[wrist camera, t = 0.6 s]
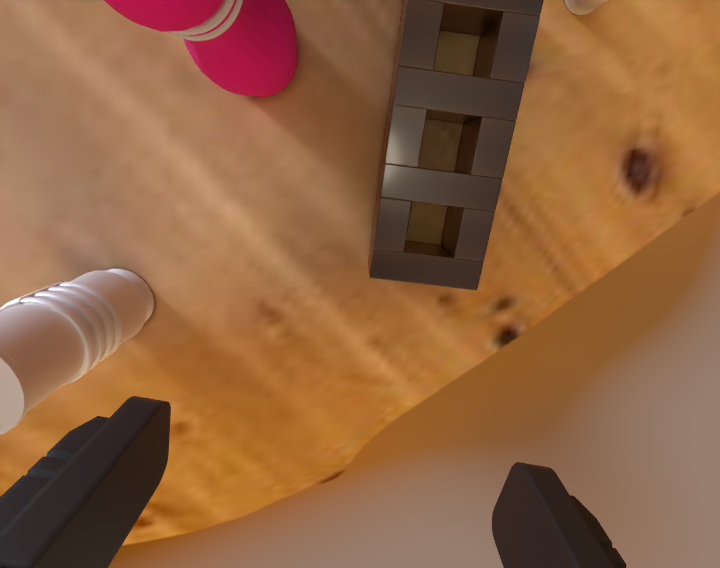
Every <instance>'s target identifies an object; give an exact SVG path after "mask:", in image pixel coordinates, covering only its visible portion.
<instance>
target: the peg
mask: <svg viewBox="0 0 720 568" xmlns="http://www.w3.org/2000/svg"><path fill="white" fill-rule="evenodd" d="M564 1H565V4H566V6H567V8H568V9H569V10H570V11H571V12H572V13H574V14H577V15H585V14H588V13H590V12H592V11H593V10H595V9H596V8H598V7H599V6H601V5H602V4H604V3H606V2H607V1H609V0H564Z"/></svg>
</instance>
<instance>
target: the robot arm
mask: <svg viewBox="0 0 720 568" xmlns="http://www.w3.org/2000/svg"><path fill="white" fill-rule="evenodd" d="M170 413H171V407H170V403H169V402H166V401H160V400H154V399H148V398H143V397H137V396H132V397H130V398H129V399H128V400H126V401H125V402H124V404H123V405H122V406H121V407H120V408H119V409H118V410H117V411H116V412H115V413H114V414H113V415H112V416H111V417H110V418H106V417H100V416H97V417H95V418H93V419H92V420H90V421H88V422H86V423H84V424H83V425H81V426H79V427H77V428H75V429H73V430H72V431H70V432H69V433H68V434H67V435H65V436H64V437H63V438H62V439H61V440H60V441H59V442H58V443H57V444H56V445H55V446H54V447H53V448H52V449H51V450H50V451H49V452H48V453H47V456H46V457H42V458H41V459H40V460H39V461H38V462H37V463H36V464H35V465H34V466H33V467H32V468H31V469H29V470H28V473H27V475H26V476H22V477H21V478H20V479H19V480H18V481H17V482H16V483H15V484H14V485H13V486H12V487H10V488H9V489H8V490H7V491H6V492H5V493H4V494H3V495H2V496H1V497H0V568H108V566H109V565H110V563H111V562H112V560H113V558H114V556H115V555H116V553H117V552H118V550H119V549H120V547H121V545H122V544H123V542H124V540H125V539H126V537H127V536H128V534H129V532H130V531H131V529H132V527H133V526H134V524H135V523H136V521H137V519H138V518H139V516H140V514H141V513H142V511H143V510H144V508H145V506H146V505H147V503H148V501H149V500H150V498H151V497H152V495H153V493H154V492H155V490H156V488H157V487H158V485H159V483H160V481H161V479H162V476H163V474H164V471H165V468H166V465H167V460H168V452H169V433H170ZM492 531H493V537H494V540H495V543H496V546H497V549H498V552H499V555H500V558H501V561H502V564H503V567H504V568H626V564H625V562H624V560H623V559H622V557H621V556H620V554H619V553H618V551H617V550H616V548H613V547H612V542H611V540H610V539H609V538H608V536H607V534H606V533H605V531H604V530H603V528H602V527H601V525H600V523H599V522H598V520H597V519H596V518H595V517H594V516H593V515H592V514H591V513H590V512H589V511H588V510H587V509H586V508H585V507H584V506H583V505H582V504H581V503H580V502H579V501H578V500H577V499H576V498H575V497H574V496H571V495H569V494H568V492H567V491H566V489H565V487H564V486H563V484H562V482H561V481H560V479H559V478H558V476H557V474H556V473H555V472H554V471H553V470H552V469H551V468H549V467H543V466H537V465H531V464H525V463H519V462H518V463H515V464H514V465H513V466H512V468H511V470H510V472H509V474H508V477H507V479H506V482H505V484H504V486H503V489H502V491H501V493H500V496H499V498H498V501H497V503H496V505H495V508H494V510H493V516H492Z"/></svg>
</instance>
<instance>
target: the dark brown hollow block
mask: <svg viewBox="0 0 720 568" xmlns="http://www.w3.org/2000/svg"><path fill="white" fill-rule="evenodd" d="M542 5H543V0H403V5H402V12H401V20H400V27H399V34H398V42H397V49H396V57H395V64H394V72H393V79H392V80H393V81H392V87H391V94H390V102H389V109H388V117H387V124H386V132H385V139H384V147H383V154H382V162H381V163H382V164H381V169H380V177H379V184H378V193H377V199H376V207H375V214H374V222H373V229H372V237H371V244H370V252H369V259H368V266H369V277H370V278H376V279H384V280H393V281H401V282H410V283H418V284H427V285H435V286H444V287H452V288H461V289H469V290H477V288H478V284H479V279H480V275H481V271H482V266H483V261H484V257H485V253H486V248H487V244H488V240H489V235H490V231H491V227H492V222H493V218H494V214H495V212H494V211H495V209H496V205H497V201H498V196H499V192H500V188H501V183H502V178H503V175H504V171H505V166H506V162H507V158H508V153H509V149H510V145H511V140H512V136H513V131H514V127H515V123H516V118H517V114H518V109H519V105H520V101H521V96H522V92H523V88H524V83H525V80H526V75H527V71H528V66H529V62H530V58H531V53H532V49H533V45H534V40H535V36H536V32H537V27H538V23H539V19H540V17H539V16H540V13H541V9H542ZM440 30H445V31H452V32H459V33H466V34H473V35H480V36H481V37H480V42H479V47H478V53H477V58H476V63H475V68H474V73H473V76H469V75H462V74H454V73H447V72H440V71H433V69H434V63H435V57H436V51H437V45H438V39H439V33H440ZM425 119H433V120H441V121H448V122H456V123H463V124H464V126H463V131H462V136H461V142H460V147H459V152H458V157H457V162H456V168H455V172H448V171H440V170H433V169H425V168H417V167H418V162H419V156H420V150H421V144H422V138H423V131H424V125H425ZM412 201H416V202H424V203H432V204H440V205H448V210H447V215H446V220H445V226H444V231H443V236H442V241H441V245H437V244H428V243H420V242H412V241H406V236H407V230H408V223H409V217H410V211H411V205H412Z"/></svg>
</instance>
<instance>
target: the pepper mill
mask: <svg viewBox="0 0 720 568" xmlns="http://www.w3.org/2000/svg"><path fill="white" fill-rule="evenodd" d="M104 1H105V2H106V3H108V4H109V5H110V6H111V7H112V8H113V9H115V10H116V11H117V12H118V13H120V14H121V15H123V16H124V17H126V18H128V19H129V20H131V21H133V22H135V23H137V24H139V25H143V26H146V27H149V28H152V29H156V30H159V31H168V32H170V33H171V34H173V35H175V36H177V37H180V38H183V39H184V41H185V44H186V47H187V49H188V51H189V53H190V55H191V57H192V58H193V60H194V62H195V63H196V65H197V66H198V67H199V68H200V70H201V71H202V72H203V73H204V74H205V75H206V76H207V77H208V78H209V79H211V80H212V81H213V82H214V83H216V84H217V85H218V86H220V87H221V88H223V89H225V90H227V91H229V92H233V93H236V94H241V95H252V96H257V97H266V96H271V95H273V94H275V93H278V92H280V91H281V90H282V89H284V88H285V87H286V86H287V84H288V83H289V82H290V81H291V79H292V77H293V76H294V73H295V71H296V68H297V63H298V47H297V42H296V30H295V23H294V20H293V17H292V14H291V11H290V9H289V7H288V5H287V3H286V1H285V0H104Z"/></svg>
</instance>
